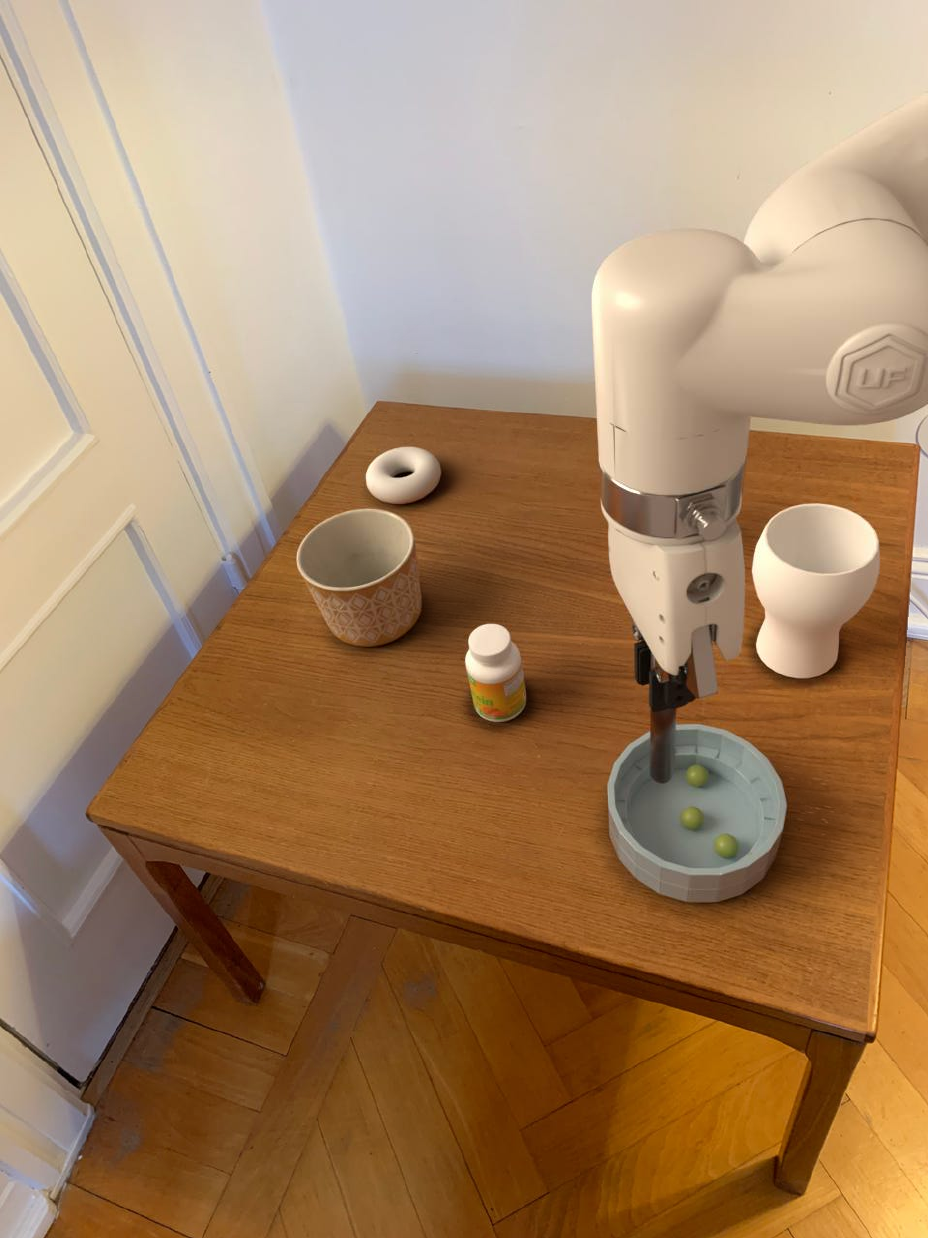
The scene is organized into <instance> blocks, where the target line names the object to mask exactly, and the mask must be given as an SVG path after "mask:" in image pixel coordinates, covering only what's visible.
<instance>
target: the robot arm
mask: <svg viewBox="0 0 928 1238" xmlns="http://www.w3.org/2000/svg"><path fill="white" fill-rule="evenodd" d="M591 327H592V345H593V346H592V347H593V366H594V369H593V370H594V385H595V404H596V429H597V431H596V432H597V433H596V434H597V452H598V471H599V491H600V493H599V494H600V507H601V511H602V515H603V517H604V518H605V520H606V521H607V531H608V532H607V542H608V543H607V544H608V558H609V559H608V560H609V568H610V573H611V577H612V581H613V583H614V585H615V587H616V589H617V592H618V594H619V596H620V598H621V599H622V601H623V603H624V605H625V607H626V608H627V610H628V612H629V614H630V616H631V630H632V634H633V636H634V638H635V640H636V641H637V642H634V643H633V648H634V649H633V652H634V654H633V655H634V657H633V658H634V659H633V660H634V679H635V681H636V683H637V685H640V686H646V685H648V706H649V709H650V708H651V710H652V712H659V711H663V710H666V709H676V708H677V709H679V708H682V707H685V706H686V705H688V704H689V703H692V702H694V701H695V700H700V699H704V698H707V697H711V696H714V695H717V694H718V693H719V687H718V678H717V672H716V664H715V663H716V662H715V656H714V649H713V642H714V644H715V646H716V647H717V649H718V650H719V653H720V654H721V656H722V657H723V659H724V660H725V662H729V661H731V660H734V659H736V658H738V657H739V656H740V654H741V651H742V647H743V639H744V626H745V612H746V611H745V608H746V607H745V606H746V567H745V565H746V564H745V558H744V557H745V556H744V555H745V554H744V545H743V537H742V531H741V530H742V529H741V526H740V524H739V522H738V520H737V517H738V516H739V514H740V511H741V509H742V502H743V495H744V486H745V476H746V466H747V457H748V455H747V454H748V447H749V439H750V438H749V437H750V428H751V420H752V418H761V419H770V420H780V421H781V420H782V421H789V422H797V423H807V424H816V425H826V426H844V427H845V426H868V425H873V424H880V423H886V422H889V421H894V420H898V419H901V418H903V417H905V416H909V415H911V414H913V413H915V412H917V411H919V410H921V409H922V408H924V407H926V406H927V405H928V91H926V92H924V93H922V94H920V95H917V96H916V97H915V98H913V99H911V100H909V101H907V102H905V103H903V104H902V105H899V106H898V107H897V108H894V109H892V110H891V111H889V112H887V113H886V114H884V115H883V116H881V117H879V118H878V119H876V120H874V121H873V122H871V123H870V124H868V125H866V126H864V127H863V128H861V129H859V130H858V131H856V132H854V133H852V134H851V135H849V136H848V137H845V138H844V139H843V140H841V141H839V142H838V143H836V144H834V145H833V146H831V147H830V148H828V149H826V150H825V151H823V152H821V153H820V154H818V155H817V156H816V157H814V158H812V159H811V160H809V161H808V162H807V163H805V164H804V165H802V166H801V167H800V168H798V169H797V170H796V171H794V172H793V173H791V175H790V176H788V177H787V178H786V179H785V180H784V181H783V182H782V183H781V184H779V185H778V186H777V187H776V188H775V189H774V190H773V191H772V192H771V193H770V195H769V196H768V197H767V198H766V199H765V201H763V202H762V204H761V205H760V206H759V207H758V209H757V211H756V213H755V215H754V216H753V218H752V220H751V222H749V225H748V228H747V231H746V233H745V236H744V238H743V241H741V239H738V238H737V237H734V236H732V235H731V234H728V233H724V232H721V231H717V230H712V229H707V228H706V229H704V228H674V229H672V228H671V229H666V230H659V231H655V232H651V233H647V234H643V235H641V236H638V237H636V238H633V239H630V240H629V241H627V242H625V243H623V244H622V245H619V247H617V248H615V250H613V251H612V252H611V253H610V254H609V255H608V256H606V258H605V259H604V260H603V262H602V264H601V265H600V266H599V268H598V270H597V272H596V274H595V277H594V280H593V282H592V287H591ZM651 652H652V653H653V655H654V657H655V668H654V669H652V670H651Z"/></svg>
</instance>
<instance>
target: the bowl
mask: <svg viewBox="0 0 928 1238" xmlns="http://www.w3.org/2000/svg"><path fill="white" fill-rule="evenodd" d="M696 764H697V765H702V766H704V767H705V768H706V769H707V771H708V773H709V780H708V782H707V783H706V784H705V785H704V786H702V787H694V786H692V785H690V784H689V783H688V781H687V779H686V772H687V770H688V768H689V767H690V766H692V765H696ZM606 785H607V786H606V787H607V788H606V789H607V815H608V817H607V818H608V834H609V836H608V837H609V839H610V841H611V843H612V846H613V848H614V852H615V853H616V855H617V857H618V859H619V861H620V862H621V864H623V866H624V867H625V868H626V869H627V870H628V872H630V874H631V875H632V876H633V877H634V879H636V880H637V881H638V882H640V883H642V884H643V885H644V886H646V887H648V888H649V889H651V890H653V891H654V892H656V893H657V894H659V895H661V896H665V897H669V898H671V899H675V900H678V901H681V902H685V903H719V902H722V901H725V900H728V899H729V900H730V899H732V898H735V897H738V896H741V895H743V894H744V893H746V892H747V891H748V890H750V889H752V888H753V887H754V886H755V885H756V884H758V883H759V882H761V881H762V880H763V879H764V878H765V876H766V874H767V873H768V871H769V869H770V868H771V866H772V865H773V863H774V862H775V860H776V858H777V855H778V852H779V851H778V850H779V847H780V842H781V839H782V835H783V831H784V828H785V821H786V815H787V810H788V803H787V797H786V793H785V789H784V784H783V781H782V779H781V777H780V776H779V774H778V772H777V771H776V769H775V767H774V766H773V764H772V762H771V761H770V759H769V758H768V757H766V755H764V753H762V752H761V751H760V750H759V749H758V748H757V747H755V746H754V745H753V744H752V743H751V742H750V741H748V740H747V739H744V738H742V737H740V736H738V735H737V734H734V733H732V732H730V731H728V730H726V729H723V728H720V727H716V726H710V725H706V724H701V723H684V724H676V732H675V754H674V774H673V778H672V779H671V780H670V781H669V782H668V783H665V784H660V783H657V782H655V781H654V780H653V779H652V777H651V775H650V731H648V732H646V733H644V734H643V735H641V736H639V738H636V739H635V740H633V741H632V742H630V743H629V744H628V745H627V746H626V748H625V749H624V750H623V751H622V752H621V754H620V755H619V756H618V758H617V759H616V760H615V761H614V763H613V766H612V768H611V772H610V775H609V778H608V780H607V784H606ZM691 806H693V807H697V808H699V809H700V810H701V811H702V812H703V814H704V824H703V826H702V827H701V828H699V829H698V830H689V829H687V828H685V827H684V826H683V824H682V823H681V819H680V816H681V813H682V811H683V810H684V809H685V808H687V807H691ZM721 834H730V835H732V836H734V837H735V838H736V839H737V841H738V844H739V850H738V853H737V854H736V855H735V856H734V857H732V858H723V857H721V856H719V855H718V854H717V853H716V851H715V849H714V841H715V839H716V838H717V837H718V836H719V835H721Z"/></svg>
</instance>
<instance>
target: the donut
mask: <svg viewBox="0 0 928 1238" xmlns="http://www.w3.org/2000/svg"><path fill="white" fill-rule="evenodd" d="M404 473H411V474H409V475H407V476H403V477H395V476H397V475H401V474H404ZM441 475H442V469H441V463H440V462H439V460H438V459H437V458H436V456H435V455H434V454H433V453H432V452H430V451H428V450H427V449H424V448H421V447H417V446H400V447H395V448H392V449H390V450H387V451H385V452H382V454H380V455H378V456H376V457H375V458H374V460H373V461H372V462H371V463H370V464H369V465H368V467H367V471H366V473H365V483H366V488H367V489H368V491H369V492H370V494H371V495H372V496H374V498H376V499H377V500H379V501H381V502H384V503H387V504H392V505H405V504H411V503H414V502H416V501H419V500H421V499H423V498H425V497H426V496H428V495H429V494H431V493H432V492H433V491H434V489H435V488H436V487H437V486H438V485H439V482H440V479H441Z"/></svg>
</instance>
